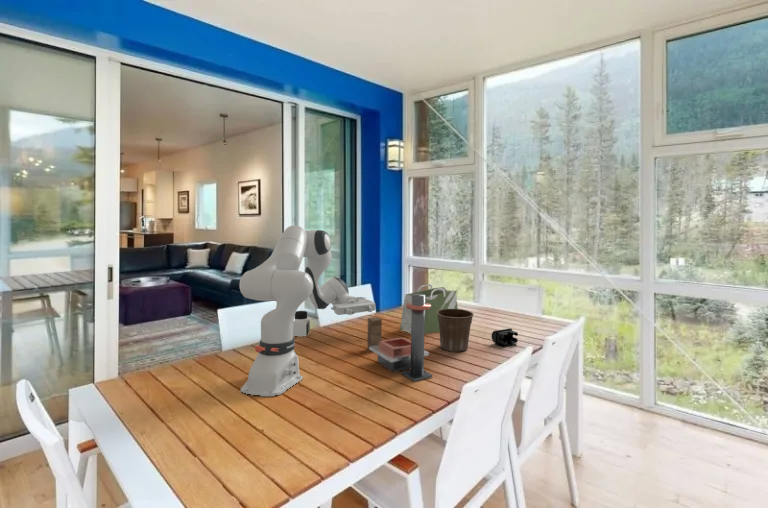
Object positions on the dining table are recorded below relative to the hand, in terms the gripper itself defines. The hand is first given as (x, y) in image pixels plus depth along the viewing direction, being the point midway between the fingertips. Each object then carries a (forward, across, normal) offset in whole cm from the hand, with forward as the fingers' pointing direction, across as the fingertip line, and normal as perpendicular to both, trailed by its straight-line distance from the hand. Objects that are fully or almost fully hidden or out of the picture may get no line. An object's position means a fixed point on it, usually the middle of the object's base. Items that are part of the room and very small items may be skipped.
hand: (362, 311), depth 186 cm
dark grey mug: (+33, +57, +15) cm, 68 cm away
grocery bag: (-4, +43, +16) cm, 46 cm away
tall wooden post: (+13, 0, +14) cm, 19 cm away
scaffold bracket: (+37, -1, +14) cm, 40 cm away
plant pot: (+27, +33, +15) cm, 45 cm away
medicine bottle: (-24, -21, +15) cm, 35 cm away
